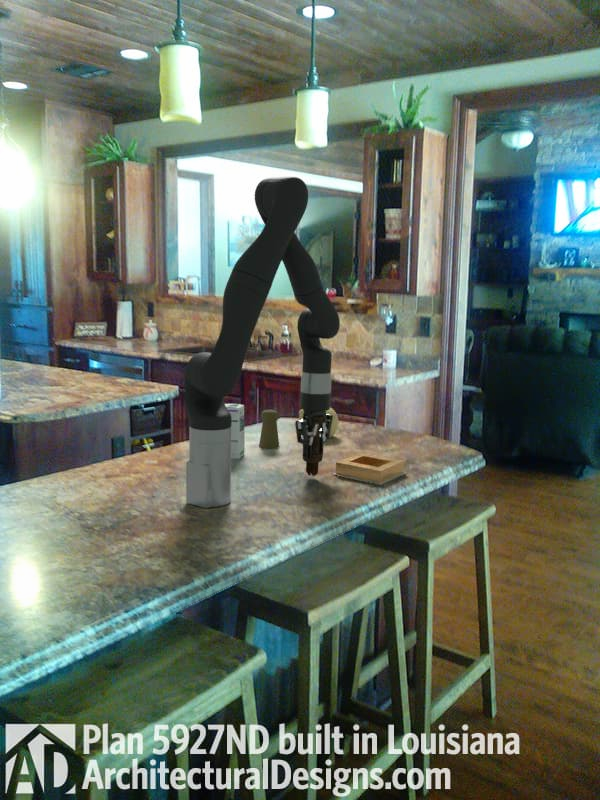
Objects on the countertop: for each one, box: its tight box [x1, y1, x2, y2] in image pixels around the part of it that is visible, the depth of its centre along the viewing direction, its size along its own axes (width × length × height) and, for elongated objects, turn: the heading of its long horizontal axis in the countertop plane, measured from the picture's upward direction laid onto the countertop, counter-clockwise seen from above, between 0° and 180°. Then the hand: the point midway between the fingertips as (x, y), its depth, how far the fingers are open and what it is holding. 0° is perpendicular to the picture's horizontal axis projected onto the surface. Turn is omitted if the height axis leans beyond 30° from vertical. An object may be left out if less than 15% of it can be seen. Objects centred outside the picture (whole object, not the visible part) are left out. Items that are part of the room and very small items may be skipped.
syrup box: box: [224, 403, 245, 460], centre depth 200 cm, size 6×6×14 cm
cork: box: [258, 409, 280, 450], centre depth 213 cm, size 6×6×11 cm
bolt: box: [302, 415, 326, 477], centre depth 180 cm, size 6×5×15 cm
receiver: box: [332, 452, 407, 486], centre depth 187 cm, size 14×14×3 cm
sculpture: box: [298, 406, 340, 438], centre depth 228 cm, size 11×12×11 cm
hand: (312, 457), depth 181 cm, fingers closed on bolt, 4 cm apart
